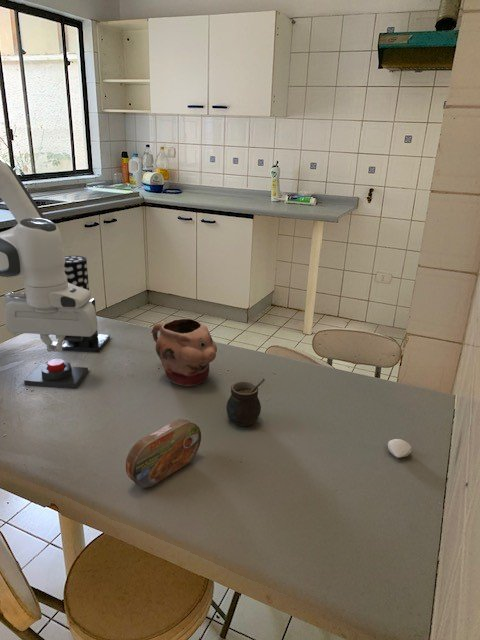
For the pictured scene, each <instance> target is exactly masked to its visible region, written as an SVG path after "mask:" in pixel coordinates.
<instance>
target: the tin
mask: <svg viewBox="0 0 480 640" xmlns="http://www.w3.org/2000/svg"><path fill="white" fill-rule="evenodd" d="M201 442H202V432H201V428H200V427H199V425H197V423H195V422H192V421H190V420H187V419H185V418H178V419H175V420H173V421H171V422H169V423H167V424H166V425H164V426H161V427H160V428H158V429H156V430H155V431H153V432H151V433H149V434H147V435H145V436H144V437H141V438H140V439H139V440H138V441H137V442H135V443H134V444H133V446H132V447H131V448H130V450H129V452H128V454H127V456H126V458H125V472H126V475H127V477H128V478H129V479H130V480H131V481H132V482H134V483H135V485H136V486H138V487H139V488H144V489H145V488H146V489H147V488H150V487H153V486H155V485H157V484H159V482H161V481H162V480H164V479H165V478H168V477H169V476H170V475H172V474H174V473H175V472H177V471H178V470H180V469H182V468H183V467H185V466H187V464H189V463H191V461H192V460H193V459H194V458H195V456H196V455H197V453H198V452H199V448H200V446H201Z"/></svg>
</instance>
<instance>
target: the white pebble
mask: <svg viewBox="0 0 480 640" xmlns="http://www.w3.org/2000/svg"><path fill="white" fill-rule="evenodd" d="M387 448H388V451H389V452H390V453H391V454H392V455H393V456H394V457H396V458H398V459H400V458H404V457H408V456H409V455H410V454H411V453H412V446H411V445H410V444H409V443H408V442H407V441H406V440H403V439H400V438H394V439H391V440H389V441H388V443H387Z"/></svg>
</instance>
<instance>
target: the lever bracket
mask: <svg viewBox="0 0 480 640" xmlns="http://www.w3.org/2000/svg"><path fill="white" fill-rule="evenodd" d="M89 301H90V302H91V303H92V304H93V306H94V308H95V312H96V313H97V309H96V299H95V298H91V297H90V300H89ZM110 339H111V336H110V334H101V333H100V334H99V333H98V329H97V330H96V332H95V333H94V334H93V335H92V336H90V337H85V336H83V340H82V341H65V342H64V344H62V350H61V351H68V352H82V353H98V354H99V353H100V352H101V351H102V349H103V348H104V347H105V346H106V345H107V343H108V342H109V341H110Z"/></svg>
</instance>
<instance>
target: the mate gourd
mask: <svg viewBox="0 0 480 640" xmlns="http://www.w3.org/2000/svg"><path fill="white" fill-rule="evenodd" d="M265 381H266V379H265V378H263V379H262V380H260V381H259V382H258V383H254V382H252V381H247V380H242V381H241V380H240V381H236V382H234V383H233V384H231V387H230V396H229V398H228V399H227V402H226V405H225V406H226V407H225V409H226V415H227V418H228V419H229V420H230V422H232V424H234V425H236V426H239V427H248V426H251V425H253V424H255V423H256V422H257V421H258V419H259V417H260V415H261V411H262V405H261V401H260V399H259V396H258V395H259V387H260V386H261V385H262V384H263V383H264V382H265Z"/></svg>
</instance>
